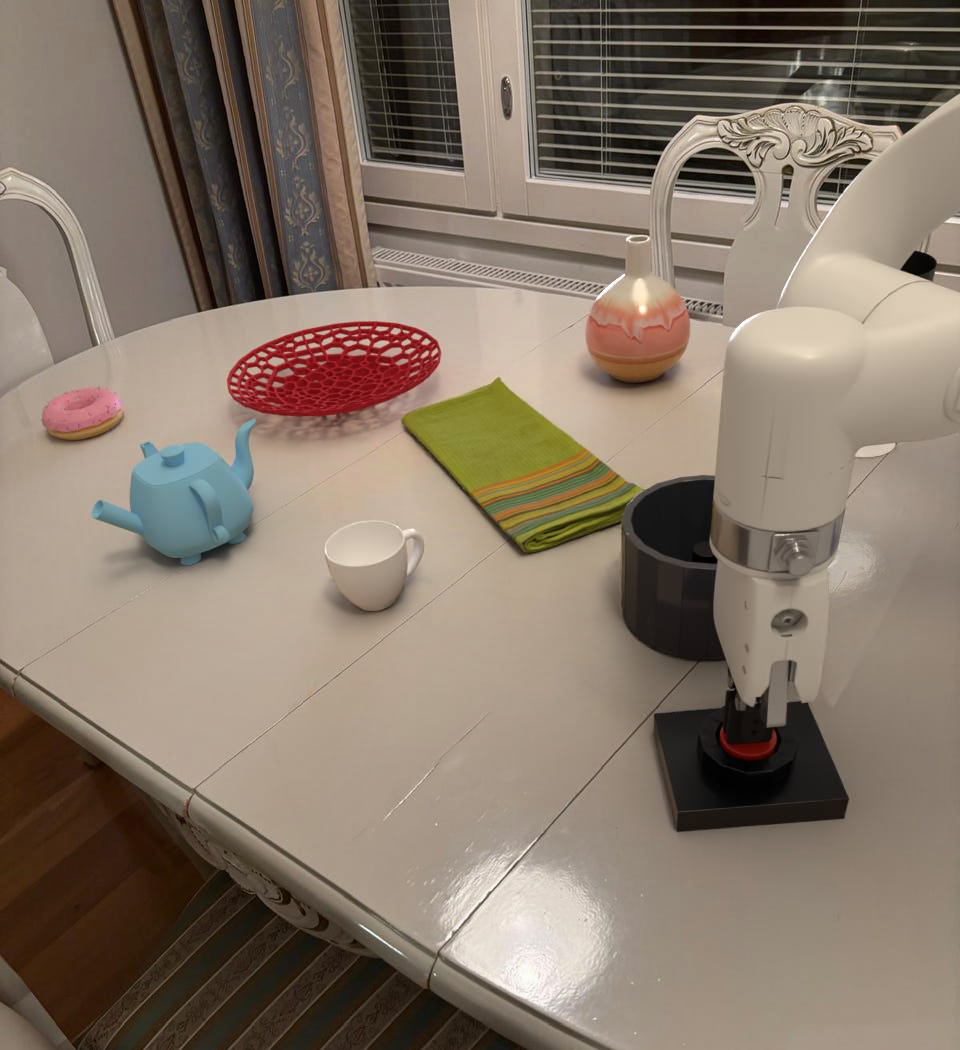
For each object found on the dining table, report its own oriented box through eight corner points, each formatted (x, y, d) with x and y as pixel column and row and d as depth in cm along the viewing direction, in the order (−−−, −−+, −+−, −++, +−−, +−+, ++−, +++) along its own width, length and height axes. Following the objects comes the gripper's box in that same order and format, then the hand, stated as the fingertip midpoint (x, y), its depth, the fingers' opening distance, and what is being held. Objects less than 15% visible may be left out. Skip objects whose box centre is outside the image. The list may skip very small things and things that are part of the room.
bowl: (365, 465, 112) (358, 427, 109) (191, 427, 125) (180, 393, 122) (483, 367, 131) (480, 333, 128) (321, 344, 144) (315, 312, 140)
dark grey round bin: (760, 557, 90) (771, 468, 84) (804, 654, 79) (820, 559, 73) (612, 571, 91) (612, 483, 84) (634, 669, 80) (636, 576, 73)
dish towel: (524, 560, 94) (522, 534, 92) (399, 426, 119) (395, 403, 117) (652, 514, 98) (652, 488, 96) (504, 395, 123) (502, 372, 121)
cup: (324, 596, 92) (310, 541, 88) (408, 557, 96) (398, 502, 92) (361, 633, 87) (347, 576, 83) (448, 590, 91) (439, 534, 87)
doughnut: (126, 401, 134) (116, 375, 131) (128, 433, 126) (117, 405, 123) (50, 418, 132) (38, 391, 129) (46, 452, 124) (33, 424, 121)
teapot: (172, 502, 110) (141, 415, 103) (280, 502, 107) (255, 413, 100) (114, 578, 99) (74, 487, 91) (233, 580, 96) (202, 487, 89)
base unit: (803, 719, 73) (810, 683, 71) (844, 818, 65) (853, 781, 63) (653, 732, 74) (654, 696, 71) (676, 831, 66) (678, 795, 63)
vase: (605, 403, 119) (604, 264, 107) (573, 363, 129) (569, 232, 118) (704, 383, 120) (713, 244, 109) (664, 345, 131) (669, 215, 119)
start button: (766, 729, 69) (768, 713, 68) (780, 769, 66) (783, 752, 65) (713, 734, 70) (714, 717, 69) (725, 773, 67) (727, 757, 65)
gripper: (882, 593, 49) (830, 811, 61) (801, 457, 61) (770, 664, 72) (742, 605, 50) (717, 820, 61) (687, 468, 61) (675, 671, 73)
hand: (746, 735), depth 67 cm, fingers closed
